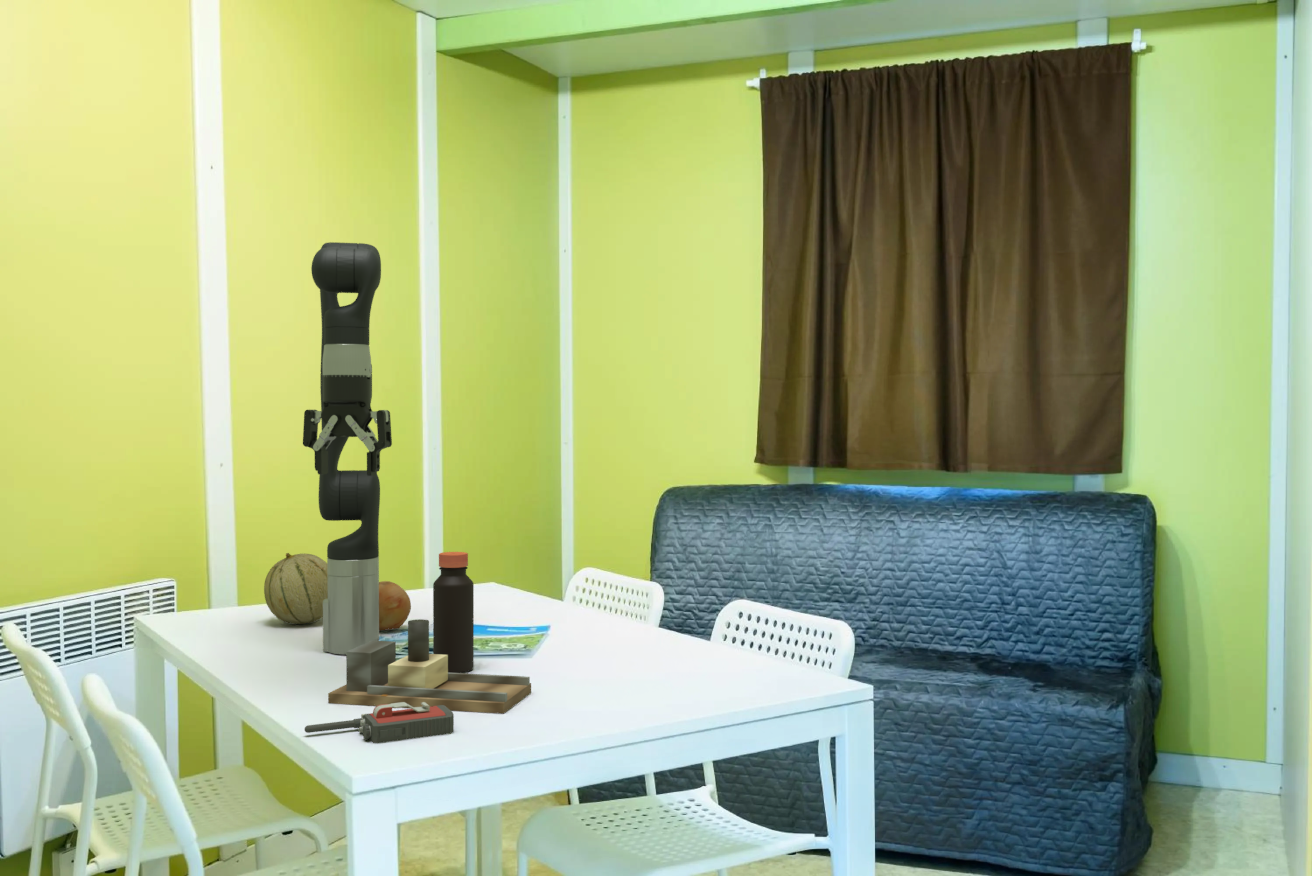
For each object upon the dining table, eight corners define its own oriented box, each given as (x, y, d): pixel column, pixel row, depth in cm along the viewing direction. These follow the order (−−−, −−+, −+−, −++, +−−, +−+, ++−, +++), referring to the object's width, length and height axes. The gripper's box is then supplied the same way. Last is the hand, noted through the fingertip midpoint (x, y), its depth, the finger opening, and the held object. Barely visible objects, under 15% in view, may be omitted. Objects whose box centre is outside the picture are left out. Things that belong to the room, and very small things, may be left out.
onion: (421, 628, 238) (421, 579, 238) (388, 637, 229) (388, 586, 229) (384, 624, 243) (383, 576, 242) (350, 632, 234) (350, 582, 234)
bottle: (440, 675, 197) (440, 556, 196) (428, 667, 203) (428, 552, 202) (478, 671, 200) (478, 554, 199) (466, 664, 206) (466, 550, 205)
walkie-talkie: (444, 720, 170) (303, 737, 161) (444, 689, 170) (303, 705, 161) (463, 735, 163) (315, 754, 153) (463, 703, 162) (315, 720, 153)
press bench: (328, 703, 178) (328, 654, 178) (366, 683, 191) (366, 637, 191) (503, 713, 172) (503, 662, 172) (531, 692, 185) (531, 645, 185)
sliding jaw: (388, 691, 178) (387, 625, 178) (412, 678, 187) (412, 615, 187) (425, 693, 177) (425, 627, 177) (447, 679, 186) (447, 617, 186)
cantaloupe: (353, 622, 246) (352, 550, 245) (297, 633, 233) (296, 558, 233) (304, 615, 253) (304, 545, 253) (248, 625, 241) (247, 552, 241)
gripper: (294, 373, 185) (294, 475, 186) (378, 372, 182) (378, 476, 183) (317, 374, 193) (318, 473, 193) (398, 374, 190) (398, 474, 190)
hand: (347, 474), depth 188 cm, fingers open, 8 cm apart
